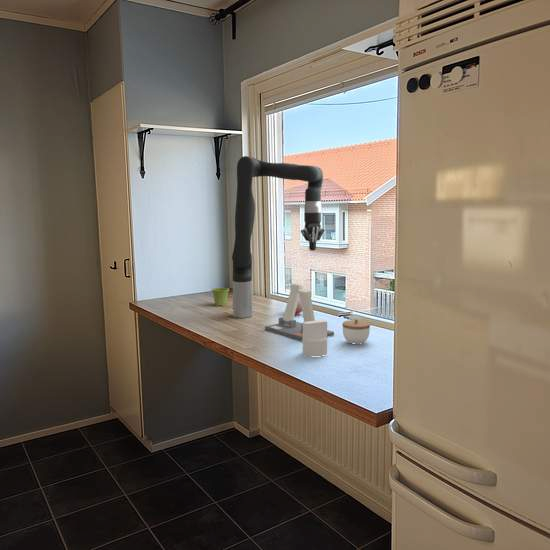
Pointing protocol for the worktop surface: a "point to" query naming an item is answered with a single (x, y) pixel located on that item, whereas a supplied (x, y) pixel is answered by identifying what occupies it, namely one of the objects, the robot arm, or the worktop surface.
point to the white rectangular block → (315, 338)
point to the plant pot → (220, 296)
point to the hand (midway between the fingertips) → (312, 250)
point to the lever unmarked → (292, 303)
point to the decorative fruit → (298, 307)
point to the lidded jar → (356, 331)
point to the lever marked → (306, 305)
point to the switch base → (290, 329)
